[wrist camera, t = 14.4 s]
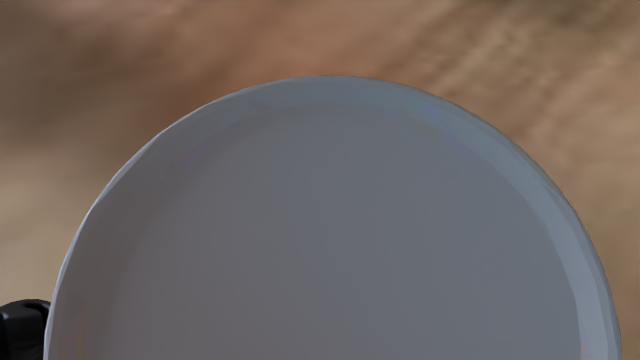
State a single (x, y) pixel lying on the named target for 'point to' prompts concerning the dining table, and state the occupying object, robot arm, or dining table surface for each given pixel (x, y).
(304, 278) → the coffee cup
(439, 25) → the dining table surface
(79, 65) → the dining table surface
